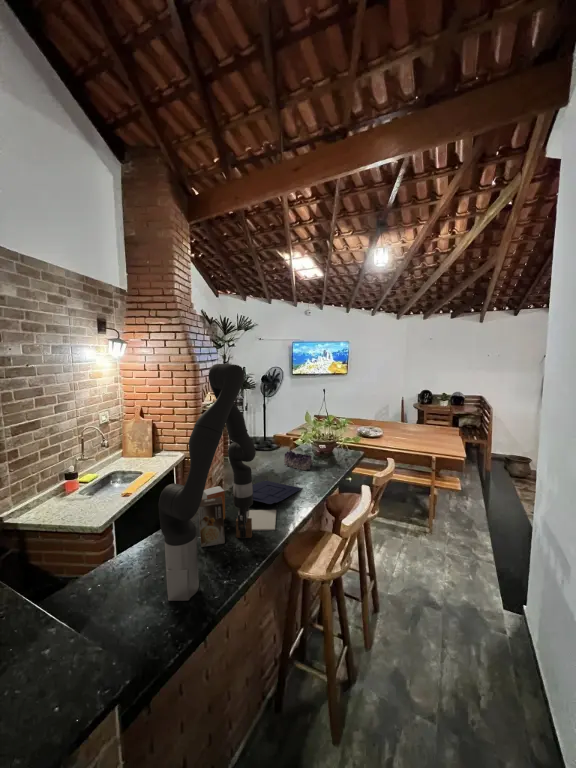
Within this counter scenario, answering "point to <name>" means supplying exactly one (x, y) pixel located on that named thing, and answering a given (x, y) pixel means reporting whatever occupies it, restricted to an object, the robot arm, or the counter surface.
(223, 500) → the small box
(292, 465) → the geode
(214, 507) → the coffee box
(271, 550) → the counter surface
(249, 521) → the slab
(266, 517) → the mat
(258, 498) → the navy rectangular panel
